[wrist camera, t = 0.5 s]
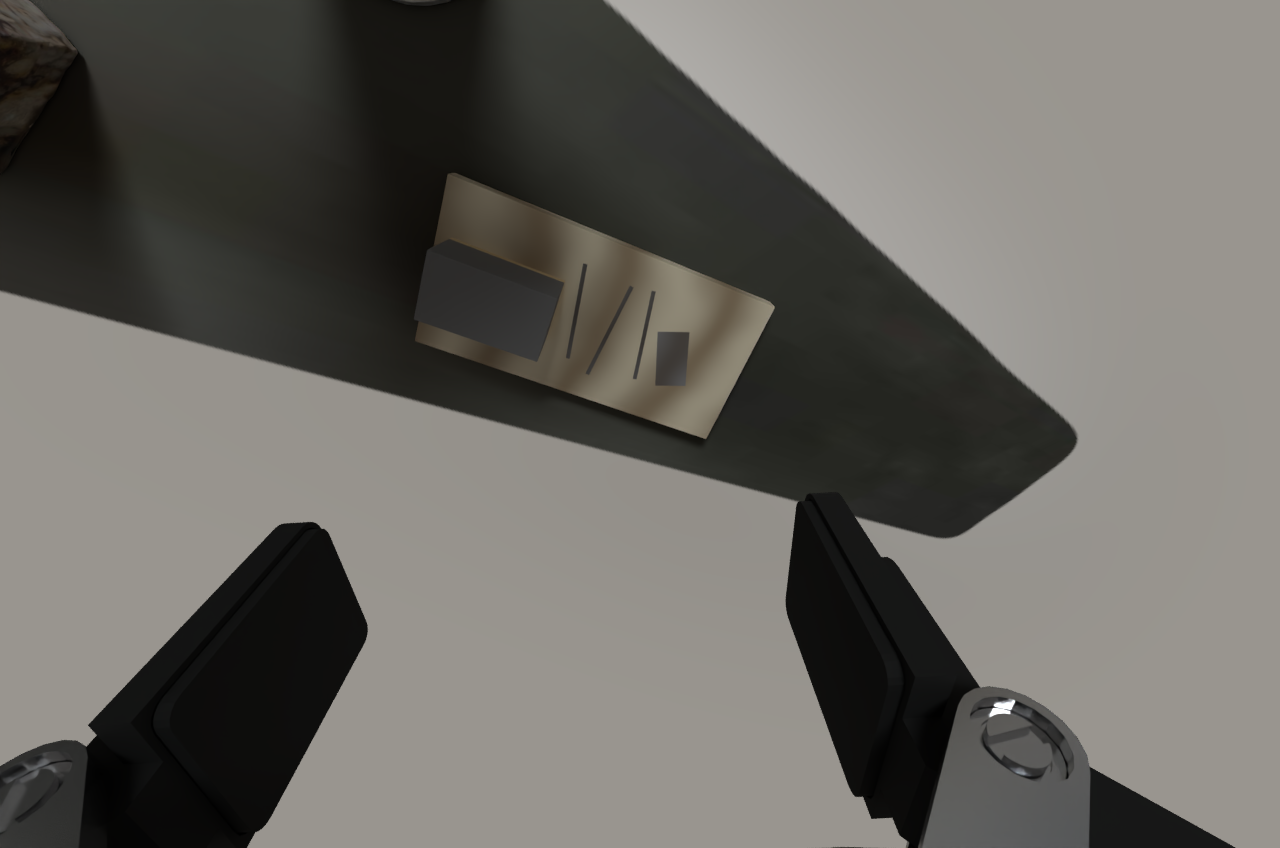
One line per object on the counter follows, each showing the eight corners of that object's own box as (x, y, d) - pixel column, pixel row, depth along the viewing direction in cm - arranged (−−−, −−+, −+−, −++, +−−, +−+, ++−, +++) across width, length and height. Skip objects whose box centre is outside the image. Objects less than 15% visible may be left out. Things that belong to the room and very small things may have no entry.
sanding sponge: (438, 299, 36) (413, 319, 32) (452, 237, 34) (427, 249, 30) (546, 337, 38) (536, 361, 33) (565, 280, 36) (557, 298, 31)
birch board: (422, 334, 39) (414, 341, 38) (455, 172, 34) (447, 173, 32) (703, 429, 44) (706, 439, 42) (769, 301, 39) (775, 307, 37)
